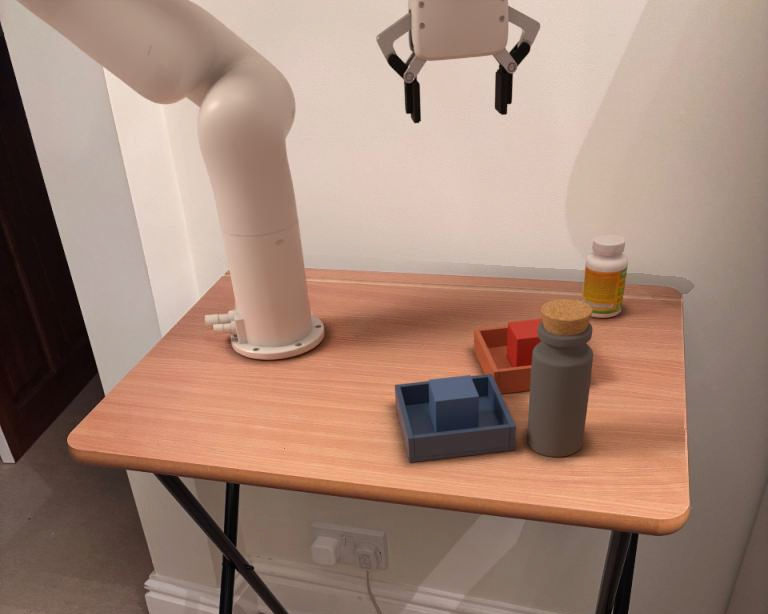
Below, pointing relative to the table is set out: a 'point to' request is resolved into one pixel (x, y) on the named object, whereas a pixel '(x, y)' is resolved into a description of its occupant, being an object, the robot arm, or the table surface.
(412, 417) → the blue bin
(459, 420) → the blue block
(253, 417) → the table surface
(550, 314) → the bottle
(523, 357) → the red block
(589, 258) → the supplement bottle
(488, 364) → the orange bin
